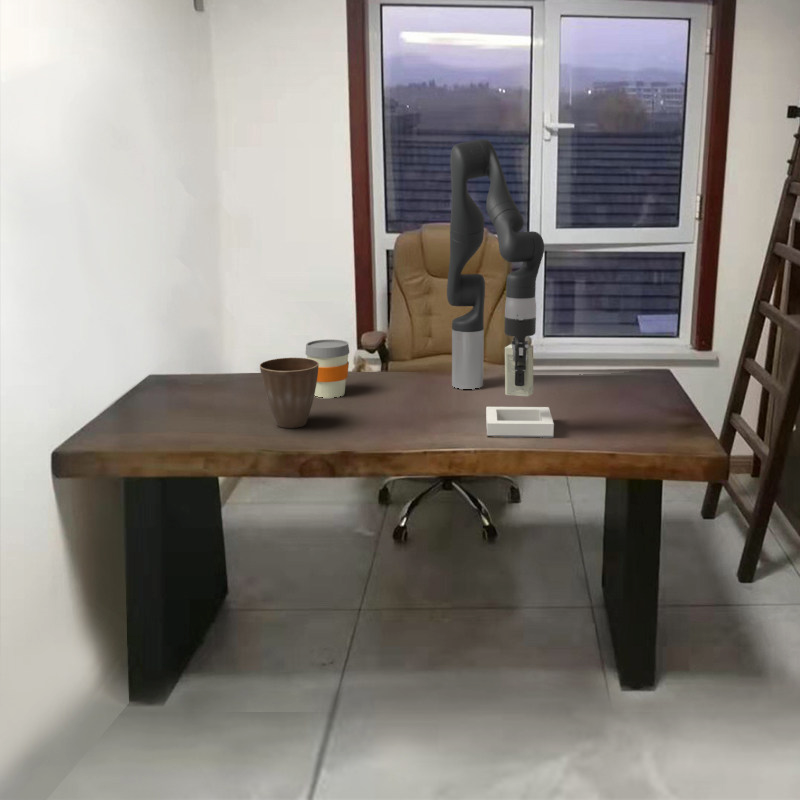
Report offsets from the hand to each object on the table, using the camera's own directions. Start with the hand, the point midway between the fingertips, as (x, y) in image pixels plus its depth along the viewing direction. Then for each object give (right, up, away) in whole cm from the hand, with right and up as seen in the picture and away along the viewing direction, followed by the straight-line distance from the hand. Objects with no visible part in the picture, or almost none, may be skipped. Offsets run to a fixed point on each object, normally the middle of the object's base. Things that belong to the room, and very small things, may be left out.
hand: (518, 382), depth 224 cm
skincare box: (0, -3, +1) cm, 3 cm away
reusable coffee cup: (-50, -3, +38) cm, 63 cm away
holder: (0, -11, +3) cm, 12 cm away
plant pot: (-57, -11, +10) cm, 59 cm away
